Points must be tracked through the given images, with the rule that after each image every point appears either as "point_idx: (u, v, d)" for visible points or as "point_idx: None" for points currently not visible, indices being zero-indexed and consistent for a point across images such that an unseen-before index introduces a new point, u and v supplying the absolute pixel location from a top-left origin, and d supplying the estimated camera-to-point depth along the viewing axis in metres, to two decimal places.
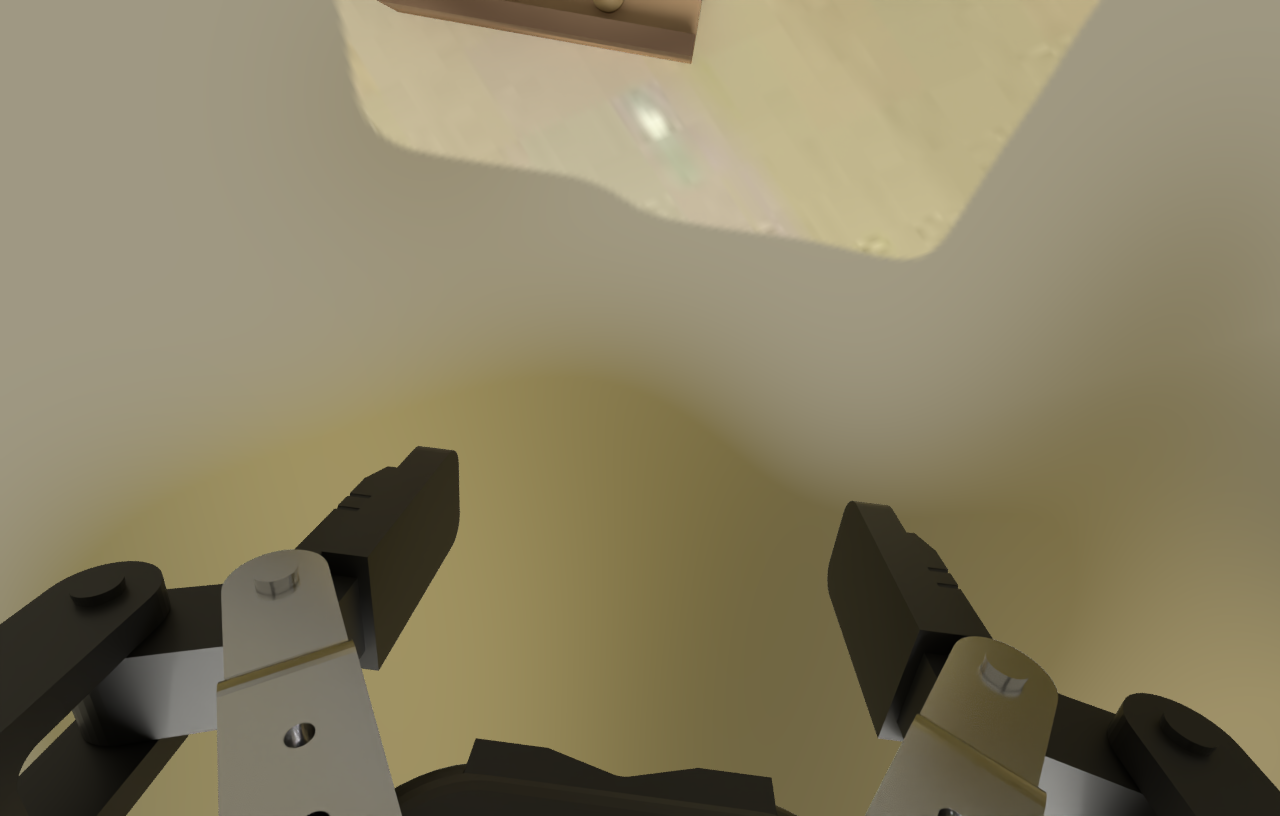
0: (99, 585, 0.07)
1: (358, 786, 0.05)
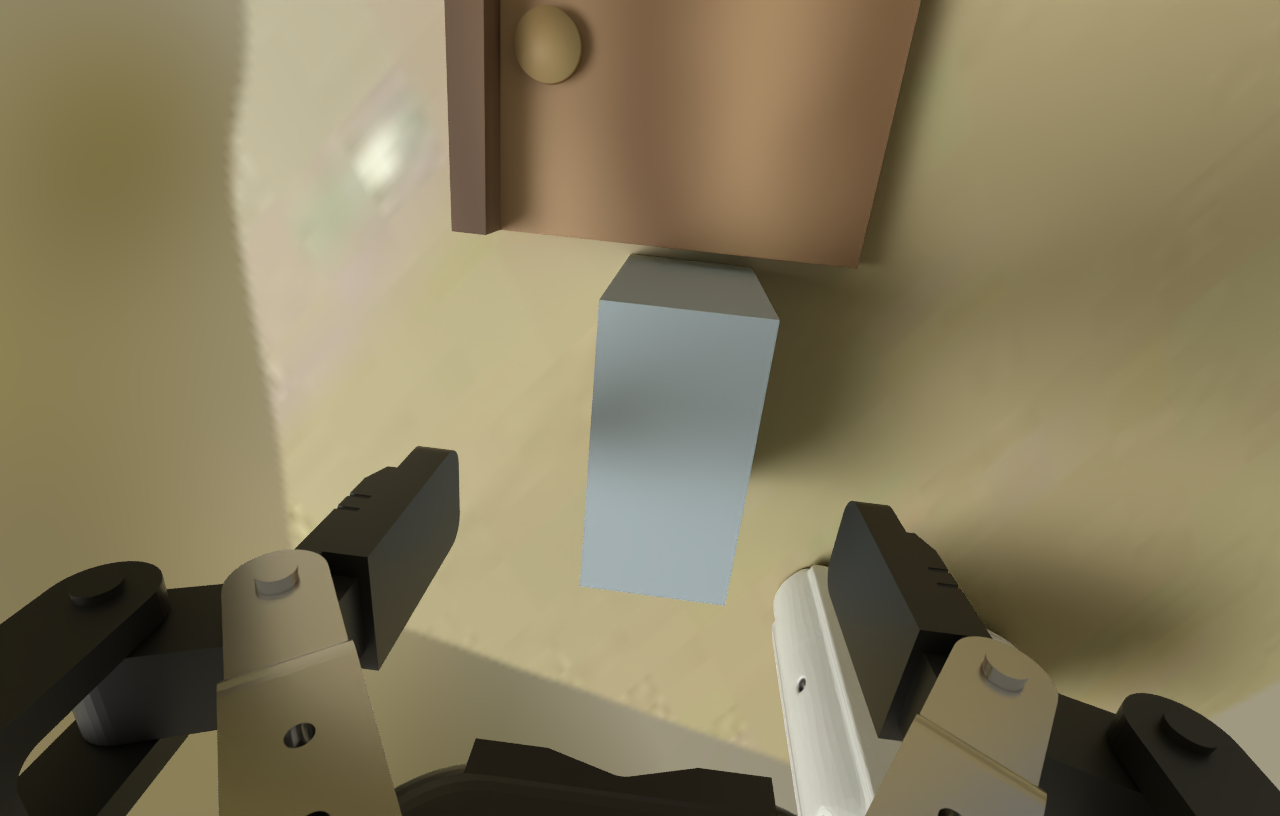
0: (99, 585, 0.07)
1: (358, 786, 0.05)
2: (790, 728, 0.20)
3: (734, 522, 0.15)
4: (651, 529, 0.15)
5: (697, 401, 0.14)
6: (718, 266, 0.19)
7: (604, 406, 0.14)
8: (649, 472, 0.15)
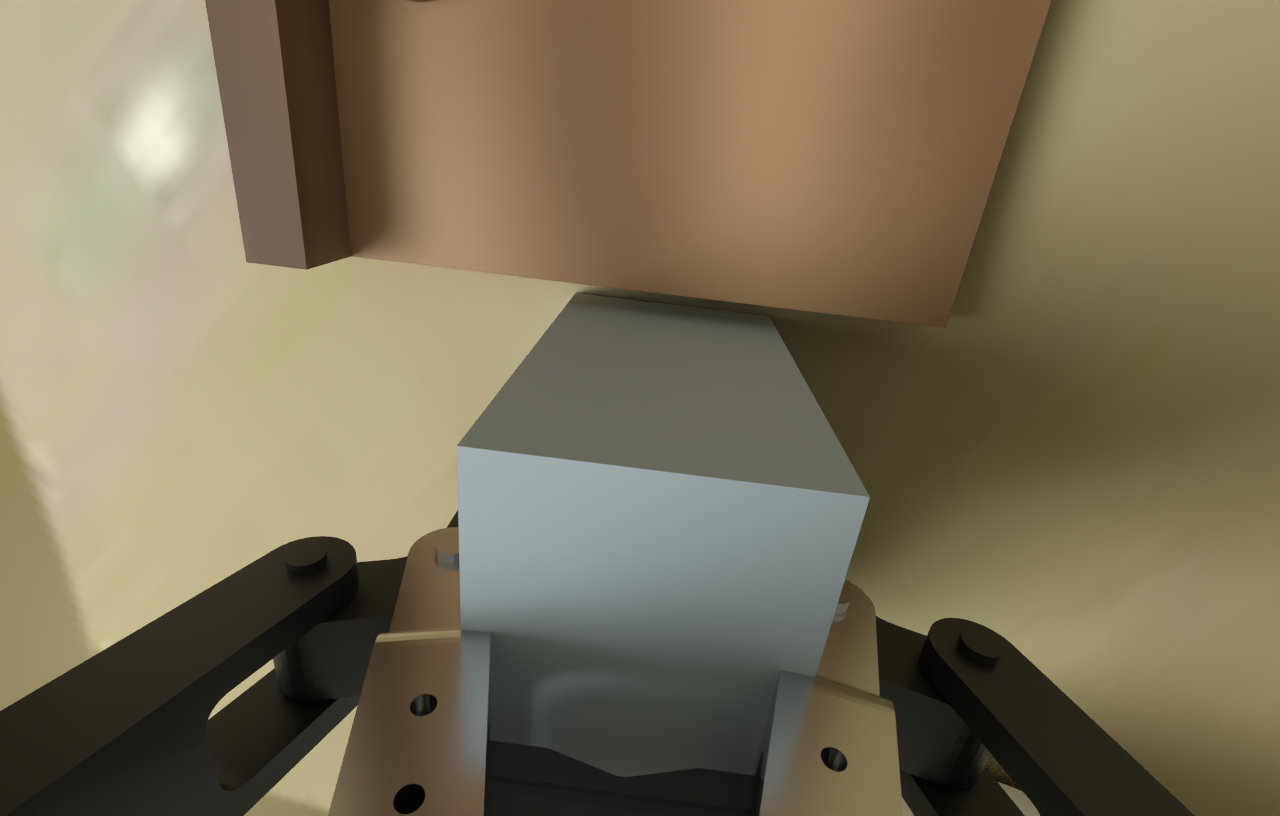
0: (306, 556, 0.08)
1: (455, 773, 0.05)
2: None
3: None
4: None
5: (681, 645, 0.06)
6: (716, 316, 0.12)
7: None
8: (585, 758, 0.07)
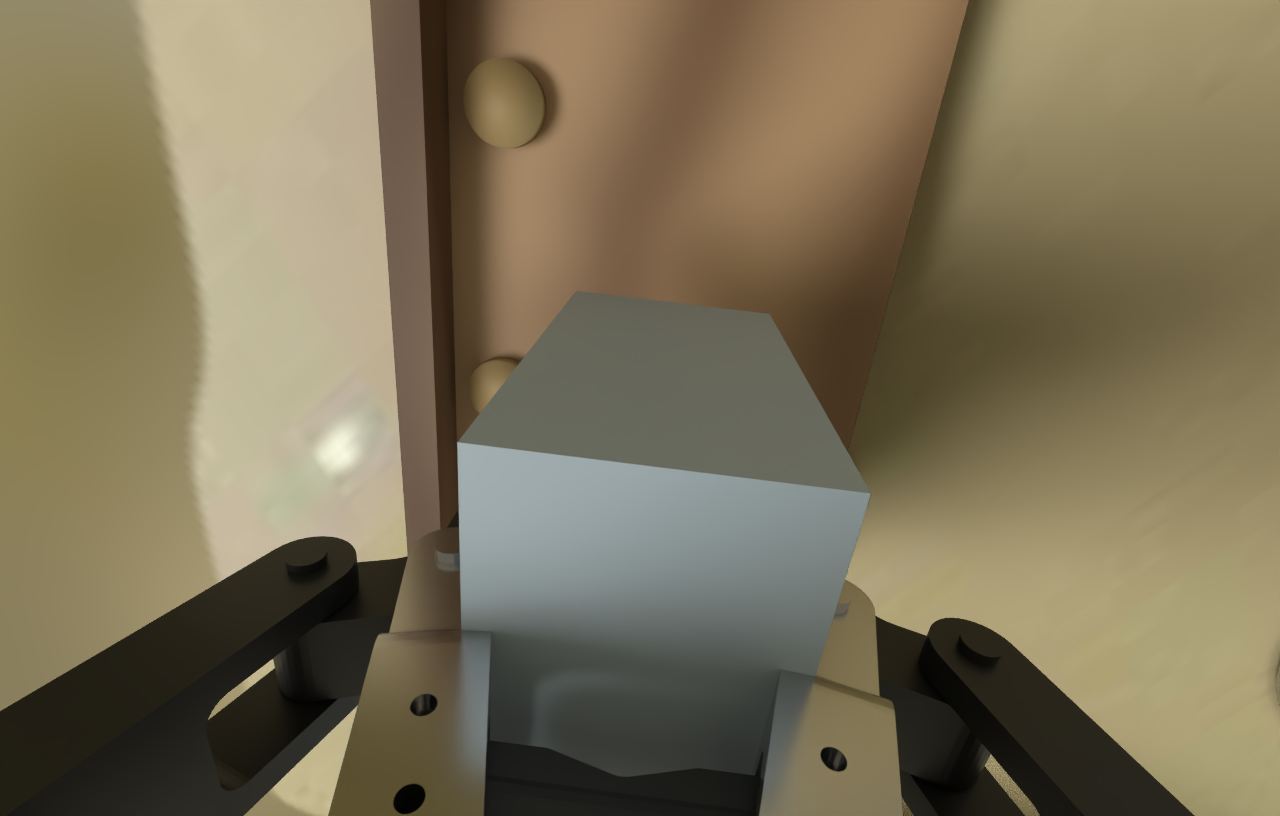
0: (307, 557, 0.08)
1: (455, 773, 0.05)
2: None
3: None
4: None
5: (681, 641, 0.06)
6: (716, 314, 0.12)
7: None
8: (585, 755, 0.07)
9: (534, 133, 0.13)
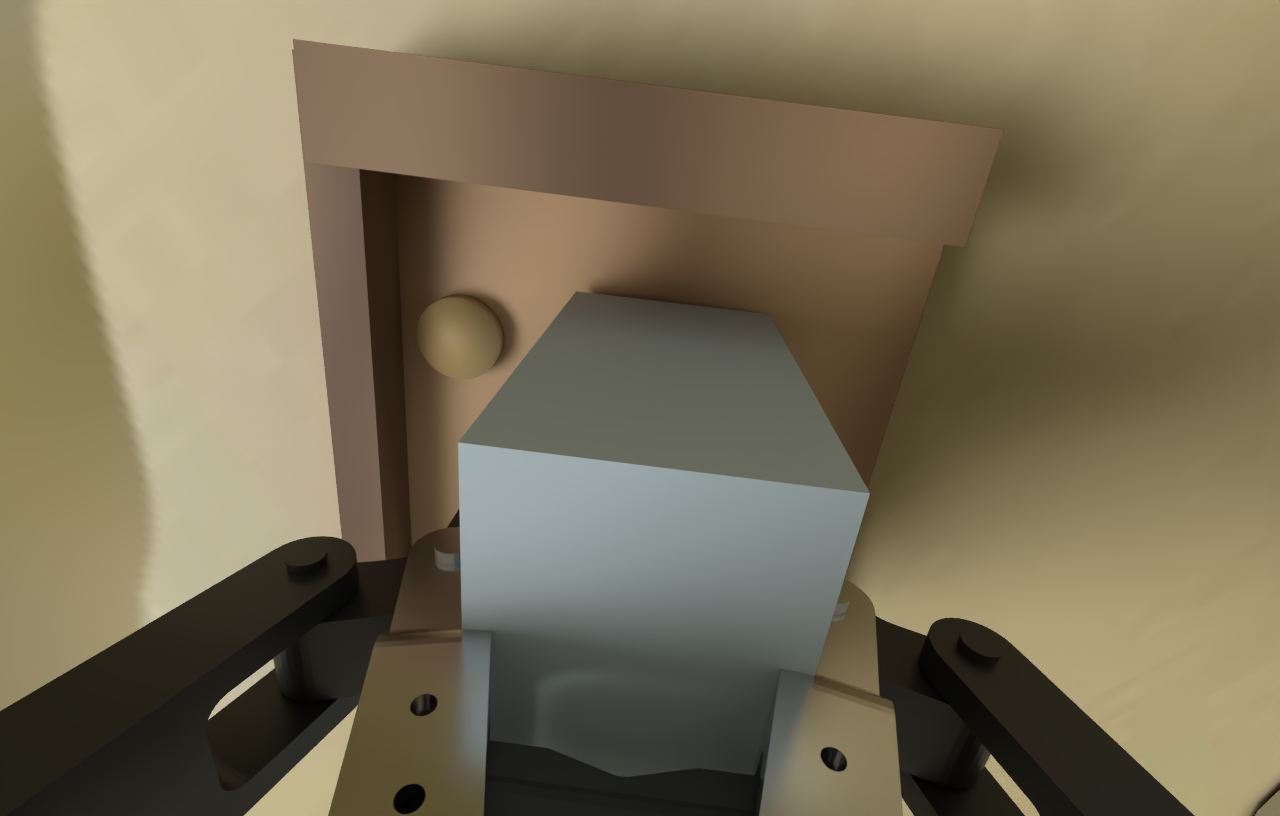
0: (307, 556, 0.08)
1: (455, 773, 0.05)
2: None
3: None
4: None
5: (681, 640, 0.07)
6: (716, 315, 0.12)
7: None
8: (585, 754, 0.07)
9: (492, 366, 0.13)
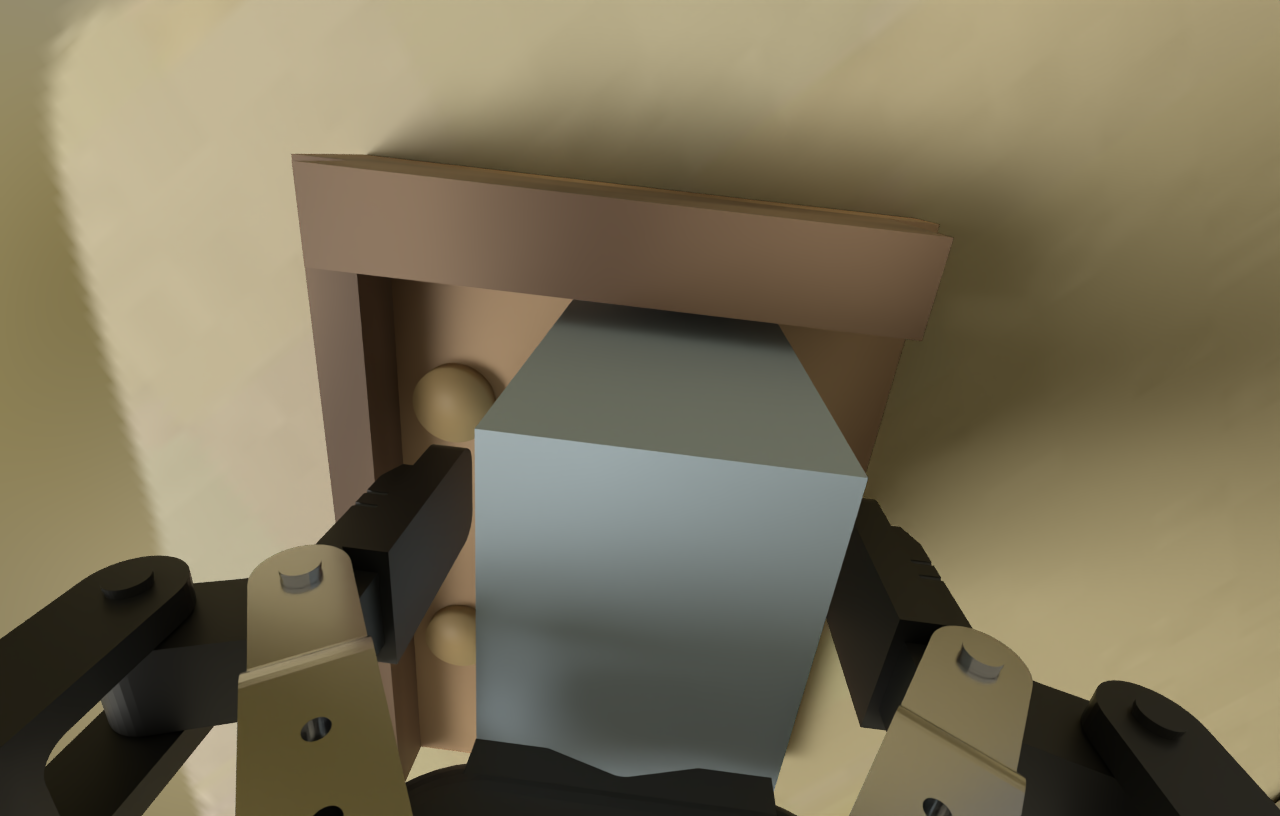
0: (128, 578, 0.07)
1: (371, 783, 0.05)
2: None
3: None
4: None
5: (686, 622, 0.07)
6: None
7: (499, 624, 0.07)
8: (593, 733, 0.08)
9: None
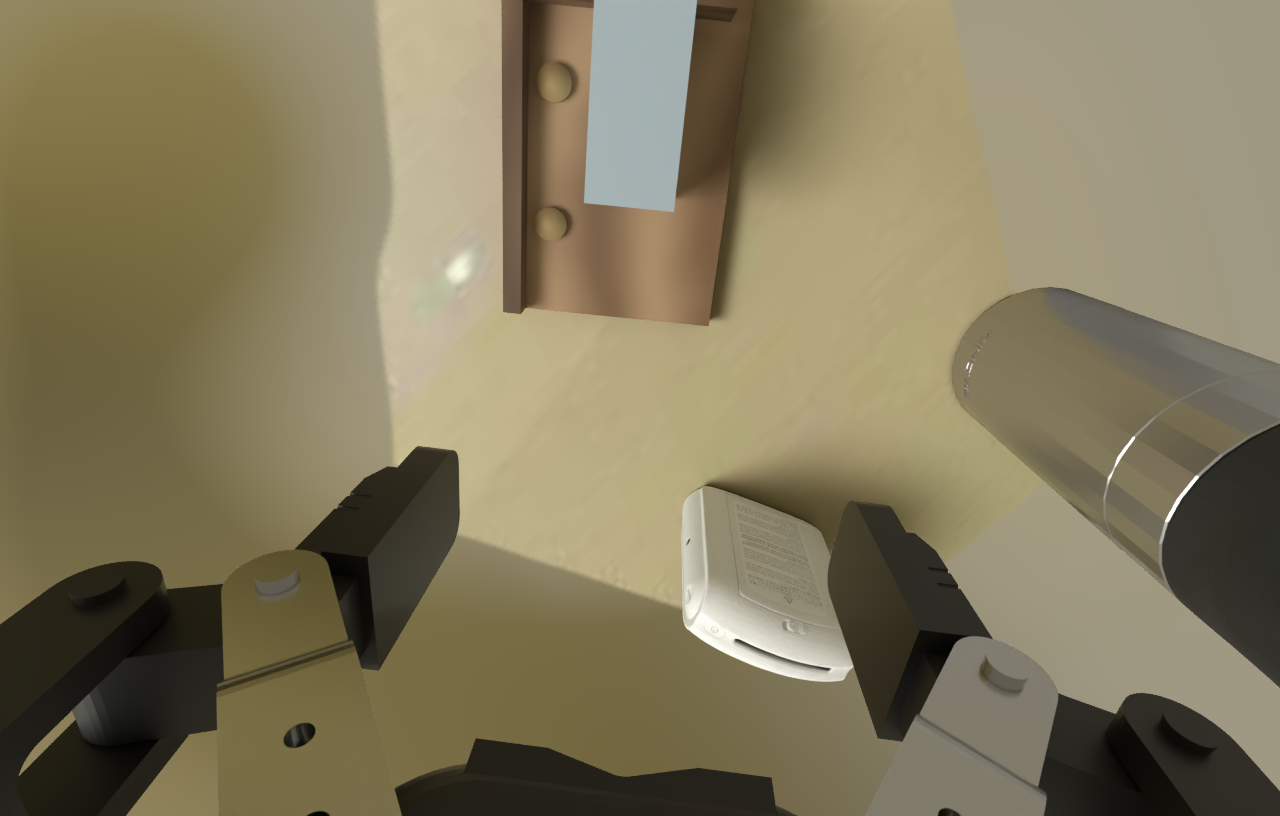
0: (98, 585, 0.07)
1: (358, 786, 0.05)
2: None
3: (677, 145, 0.25)
4: (627, 154, 0.25)
5: (652, 55, 0.24)
6: None
7: (597, 62, 0.24)
8: (625, 109, 0.24)
9: (567, 95, 0.30)
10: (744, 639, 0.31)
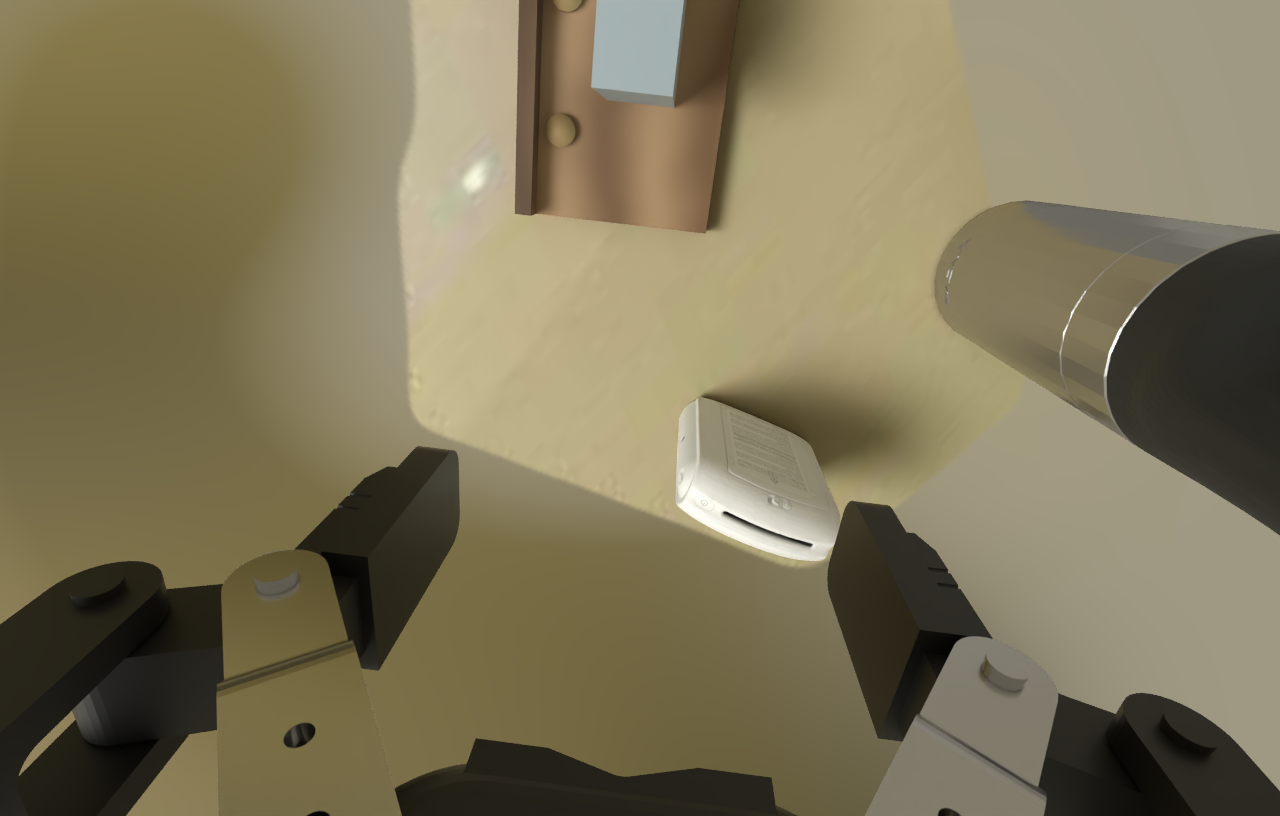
0: (99, 585, 0.07)
1: (358, 786, 0.05)
2: (678, 464, 0.40)
3: (676, 32, 0.27)
4: (631, 40, 0.28)
5: None
6: None
7: None
8: None
9: (579, 5, 0.33)
10: (731, 510, 0.33)
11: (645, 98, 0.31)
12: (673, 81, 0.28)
